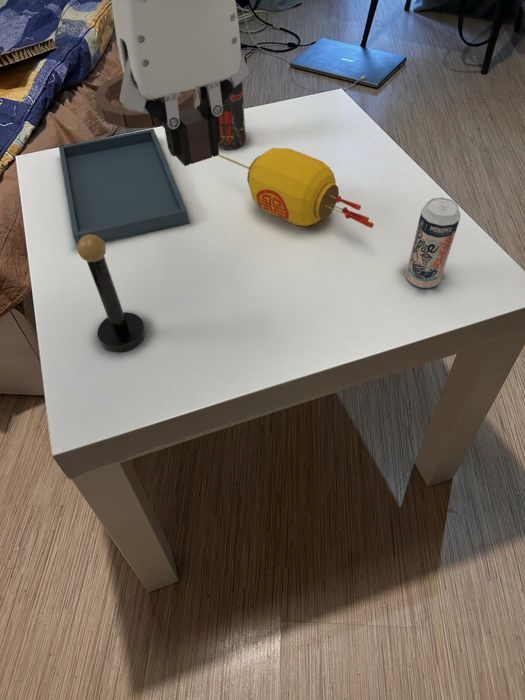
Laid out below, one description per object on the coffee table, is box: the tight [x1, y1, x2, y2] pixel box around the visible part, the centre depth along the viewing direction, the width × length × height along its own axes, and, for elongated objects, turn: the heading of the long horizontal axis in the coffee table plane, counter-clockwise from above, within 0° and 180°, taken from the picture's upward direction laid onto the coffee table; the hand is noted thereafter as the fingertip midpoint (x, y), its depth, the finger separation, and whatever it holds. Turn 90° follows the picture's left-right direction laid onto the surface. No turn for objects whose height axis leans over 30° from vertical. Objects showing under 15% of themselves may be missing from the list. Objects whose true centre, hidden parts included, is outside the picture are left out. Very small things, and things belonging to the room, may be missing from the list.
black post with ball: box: [76, 234, 146, 353], centre depth 63 cm, size 6×6×16 cm
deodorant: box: [218, 81, 247, 151], centre depth 94 cm, size 6×6×15 cm
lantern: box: [218, 147, 375, 229], centre depth 81 cm, size 10×10×30 cm
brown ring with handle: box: [93, 73, 213, 165], centre depth 57 cm, size 20×11×4 cm, turn 30°
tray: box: [58, 127, 190, 246], centre depth 90 cm, size 18×28×2 cm, turn 18°
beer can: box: [405, 196, 462, 289], centre depth 69 cm, size 5×5×12 cm
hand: (195, 153), depth 53 cm, fingers closed on brown ring with handle, 2 cm apart
